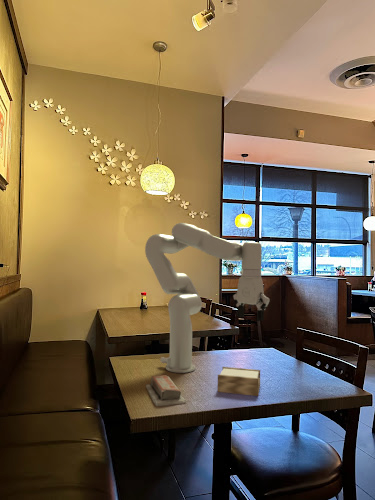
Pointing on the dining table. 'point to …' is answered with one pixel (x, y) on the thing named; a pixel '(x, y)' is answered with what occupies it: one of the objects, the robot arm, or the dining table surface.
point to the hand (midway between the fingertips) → (250, 318)
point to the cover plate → (240, 373)
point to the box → (239, 383)
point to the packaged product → (164, 391)
